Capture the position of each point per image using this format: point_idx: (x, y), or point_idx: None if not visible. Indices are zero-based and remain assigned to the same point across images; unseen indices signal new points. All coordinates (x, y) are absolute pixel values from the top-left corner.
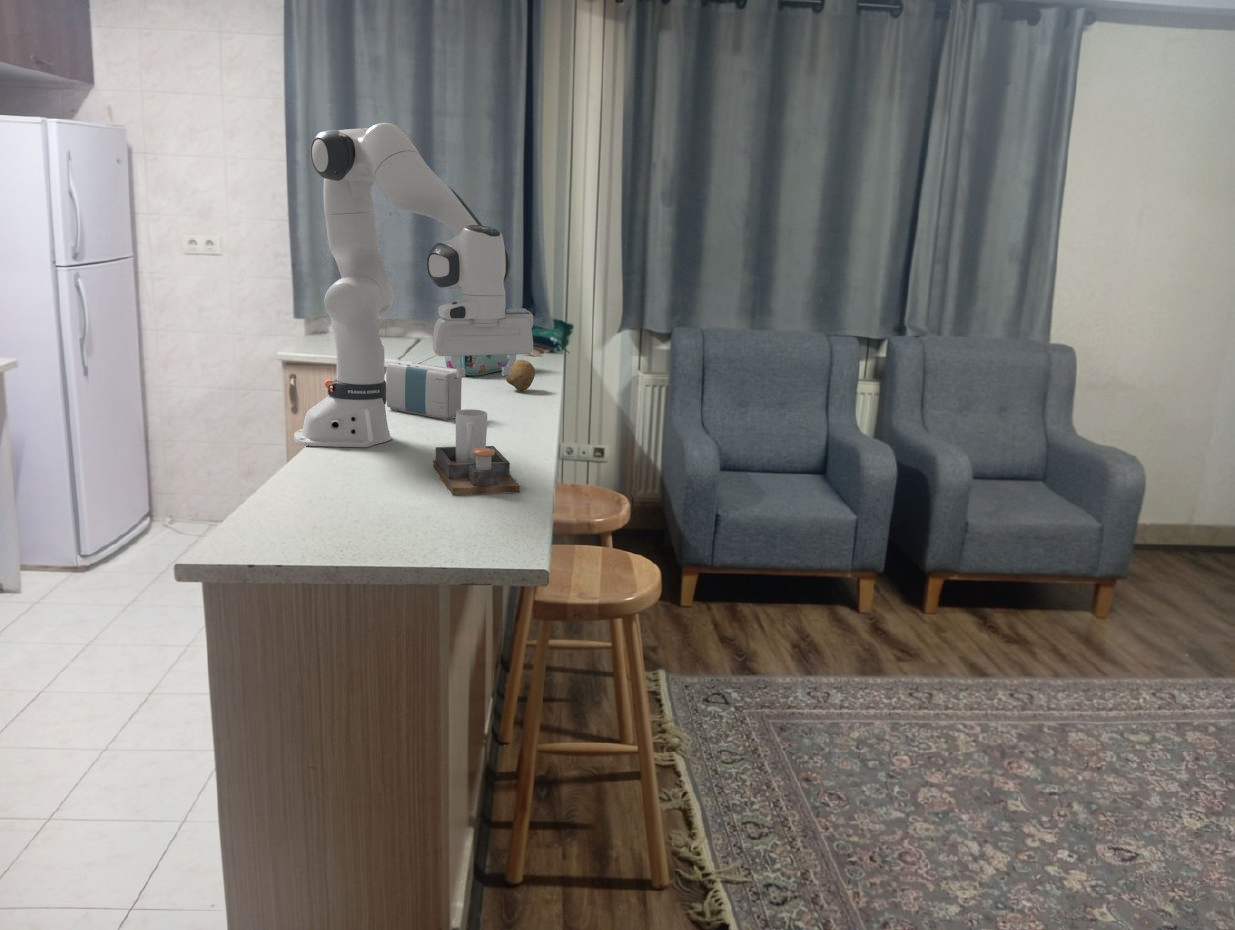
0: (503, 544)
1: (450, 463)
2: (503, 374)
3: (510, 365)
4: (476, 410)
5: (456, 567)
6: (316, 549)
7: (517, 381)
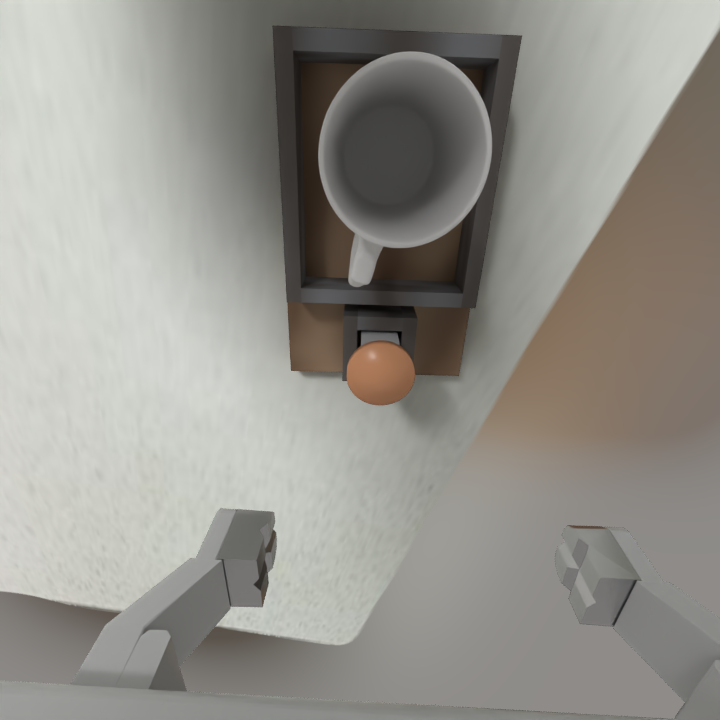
0: (328, 586)
1: (294, 288)
2: (561, 566)
3: (646, 652)
4: (455, 79)
5: (251, 631)
6: (60, 564)
7: None
